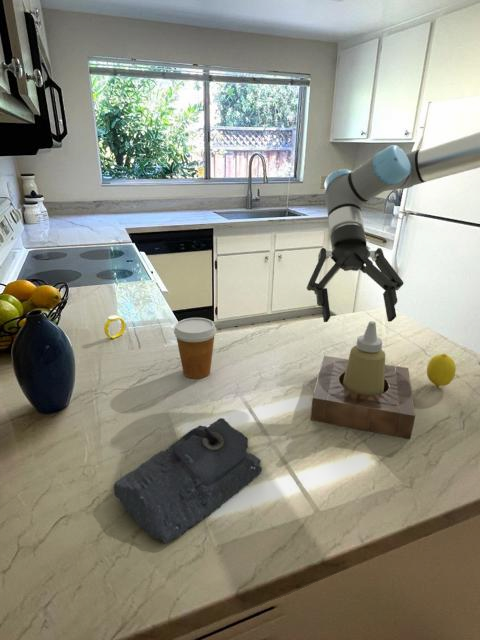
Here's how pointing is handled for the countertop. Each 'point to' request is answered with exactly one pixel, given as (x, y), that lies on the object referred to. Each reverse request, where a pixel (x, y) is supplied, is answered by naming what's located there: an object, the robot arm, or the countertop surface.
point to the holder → (364, 401)
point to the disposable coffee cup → (195, 346)
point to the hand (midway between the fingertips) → (359, 319)
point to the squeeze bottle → (366, 364)
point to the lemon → (441, 370)
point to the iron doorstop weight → (188, 480)
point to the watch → (110, 319)
